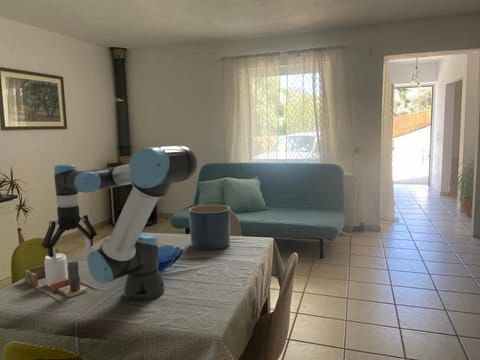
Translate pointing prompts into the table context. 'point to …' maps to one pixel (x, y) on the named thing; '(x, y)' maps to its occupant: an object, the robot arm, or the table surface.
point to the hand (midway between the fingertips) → (72, 259)
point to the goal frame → (36, 274)
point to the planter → (209, 227)
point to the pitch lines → (59, 298)
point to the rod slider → (70, 282)
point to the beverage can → (56, 269)
